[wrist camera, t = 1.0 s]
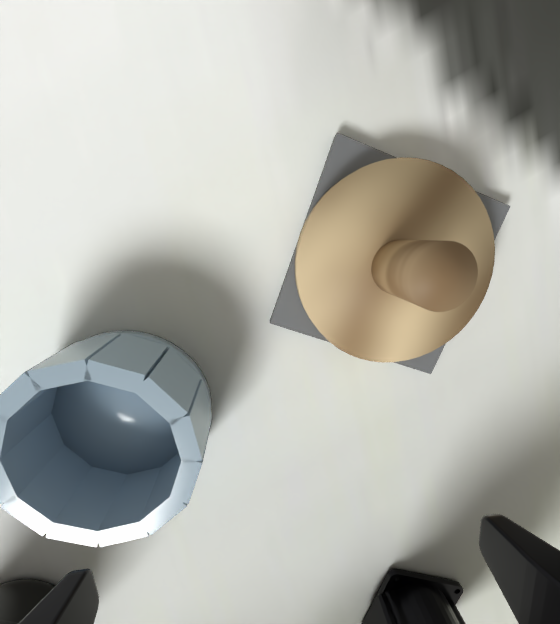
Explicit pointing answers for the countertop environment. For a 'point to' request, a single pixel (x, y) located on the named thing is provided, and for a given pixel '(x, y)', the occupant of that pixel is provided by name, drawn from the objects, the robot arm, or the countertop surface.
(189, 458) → the bowl
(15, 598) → the supplement bottle
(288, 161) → the countertop surface
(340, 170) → the mat
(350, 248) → the lid
